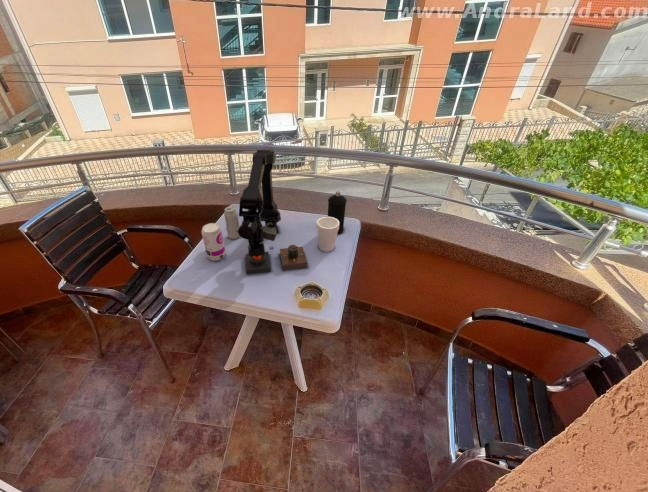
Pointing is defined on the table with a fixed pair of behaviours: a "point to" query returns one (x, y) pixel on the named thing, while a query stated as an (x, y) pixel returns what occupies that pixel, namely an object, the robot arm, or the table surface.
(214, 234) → the supplement can
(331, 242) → the foam cup
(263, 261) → the push button box
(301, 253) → the dial panel
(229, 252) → the table surface
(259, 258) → the power button
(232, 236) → the energy drink can
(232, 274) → the table surface
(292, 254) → the dial
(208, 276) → the table surface
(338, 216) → the aerosol can
